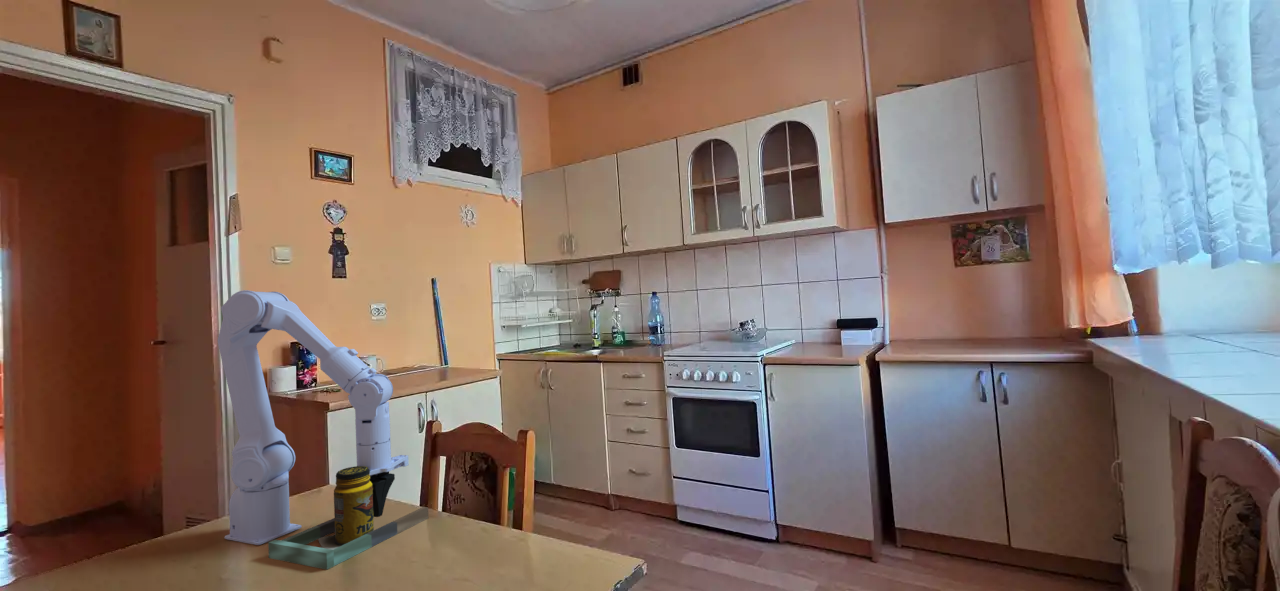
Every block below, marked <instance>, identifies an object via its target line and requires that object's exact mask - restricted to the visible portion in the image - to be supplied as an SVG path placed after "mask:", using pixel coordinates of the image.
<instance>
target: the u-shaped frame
mask: <svg viewBox="0 0 1280 591" xmlns="http://www.w3.org/2000/svg"><path fill="white" fill-rule="evenodd" d="M429 517H430V516H429V507H427V506H422V507H420V508H418V509H416V510H414V511H411V512H409V513H407V514H406V515H403V516H401V517H399V518H397V519H395V520H392V521H391V522H389V523H386V524H384V525H381V526H380V527H378V528H376V529H374V531H372V532H369V533H367V534H365V535H363V536H361V537H359V538H357V539H355V540H353V541H351V542H348V543H346V544H344V545H342V546H340V547H338V548H336V549H334V550H331V549H325V548H322V547H321V546H320V547H318V546H315V545H308V544H310V543H313V542H315V541H317V540H318V538H322V537H327V536H330V535H331V534H333V533H335V517H333V518H331V519H329V520H326V521H324V522H322V523H319V524H317V525H314V526H312V527H310V528H307V529H305V530H302V531H300V532H298V533H296V534H293V535H291V536H287V537H286V538H283V539H281V540H279V539H273V540H270V541H268V542H267V543H268V559H271V560H278V561H283V562H287V563H293V564H298V565H302V566H305V567H306V566H308V567H312V568H317V569H322V570H326V571H327V570H329V569H331V568H333V567H336V566H337V565H339V564H341V563H344V562H345V561H347V560H349V559H351V558H353V557H355V556H356V555H358V554H362V553H363V552H364V551H366V550H368V549H371V548H373V547H374V546H376V545H378V544H381V543H383V542H384V541H387V540H388V539H390V538H392V537H394V536H396V535H398V534H400V533H402V532H404V531H406V530H408V529H410V528H412V527H414V526H416V525H418V524H420V523H422V522H424V521H425V520H428V519H429Z"/></svg>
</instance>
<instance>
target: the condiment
mask: <svg viewBox="0 0 1280 591" xmlns="http://www.w3.org/2000/svg"><path fill="white" fill-rule="evenodd" d="M335 485H337V486H335V488H334V489H333V507H334V508H333V509H334V510H333V511H334V512H333V513H334V514H333V516H334V518H335V532H334V534H332V535H326V536H324V537H322V538H318V539H317V540H318V542H319V545H320V548H325V549H331V550H334V549H336V548H338V547H340V546H342V545H344V544H346V543H348V542H351V541H353V540H355V539H357V538H359V537H361V536H363V535H365V534H367V533H369V532H372V531H374V530H375V528H374V522H375V520H374V518H375V517H373V491H372V490H373V488H372V483H371V482H370V470H369V468H368V467H365V466H357V465H356V466H349V467H345V468H343V469H340V470H338V471H337V472H336V475H335Z"/></svg>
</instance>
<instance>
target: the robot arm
mask: <svg viewBox="0 0 1280 591" xmlns="http://www.w3.org/2000/svg"><path fill="white" fill-rule="evenodd" d="M220 310H221V314H222V318H223V319H222V322H221V326H220V330H219V333H218V336H217V337H218V338H217V345H218V350H219V353H220V358H221V362H222V367H223V372H224V375H225V379H226V384H227V389H228V394H229V396H230V402H231V406H232V411H233V414H234V418H235V422H236V428H237V432H238V435H239V437H238V440H237V441H236V443H235V445H234V446H233V449H232V451H231V456H232V464H231V465H232V466H231V468H230V477H231V480H232V482H233V484H234V485H235V486H236V488H235V490H234V491H232V494H231V496H230V499H229V504H228V510H229V511H228V514H229V534H227V535H224V539H225V540H228V541H235V542H240V543H245V544H251V545H256V546H260V545H262V544H265V543H268V542H271V541H273V540H276V539H277V538H280V537H283V536H285V535H287V534H290V533H292V532H294V531H297V530H299V529H301V528H302V524H297V523H291V517H290V515H291V514H290V510H291V508H290V485H289V484H290V482H289V479H290V478H289V477H290V475H289V474H290V473H289V472H290V471H291V470H292V468H293V467H294V465H295V462H296V453H295V451H294V449H293V448H292V446H291V445H290V444H289V443H288V440H287V438H286V434H285V433H284V432H282V430H280V429H278V428H277V427H276V425H275V420H274V416H273V411H272V407H271V402H270V398H269V394H268V389H267V387H266V381H265V376H264V372H263V367H262V364H261V359H260V355H259V350H258V347H257V346H258V344H259V343H260V341H261V340H262V339H263V338H264V337H265V336H266V335H267V333H268V332H270V331H271V330H276V331H282V332H286V333H287V334H288V335H289V336H291V337H292V338H293V339H294V340H296V341H297V342H298V343H300V345H302V346H304V348H306V349H307V350H308V351H309V352H310V353H312V354H313V356H315V357H316V358H318V359H319V361H320V362H319V363H320V364H319V365H320V366H319V368H320V370H321V371H322V372H323V373H324V374H325V375H326V376H327V377H328V378H329V379H331V380H332V381H333V382H334V383H335V384H337V385H338V387H340V388H341V389H342V390H343V391H344V392H345V393H347V394H348V396H347V398H348V402H349V404H350V405H351V406H352V407H353V408H354V413H355V414H354V415H355V416H354V417H355V420H354V421H355V446H356V447H355V448H356V454H355V455H356V466H365V467H368V468H369V470H370V482H371V483H372V488H373V490H372V491H373V517H374V518H379V517H381V516H383V513H384V509H385V505H386V501H387V497H388V494H389V492H390V489H391V487H392V484H393V483H394V481H395V476H396V475H395V473H391V471H394V470H396V469H399V468H401V467H403V468H404V467H407V466H409V455H406V454H399V455H395V456H392V450H391V447H392V445H391V444H392V443H391V423H390V422H391V421H390V420H391V418H390V417H391V416H390V402H389V400H390V399H392V396H393V395H394V394H393V393H394V386H393V383H392V382H391V380H390V379H389V377H388V376H387V375H385V374H382V373H377V372H378V371H377V370H376V369H375V368H374V367H372V368H371V367H369V366H368V365H367V364H366V363H365V362H364V361H363V360H362V359H361V358H359V357H358V356H357V355H358V354H359V352H358V351H357V350H356V349H355V348H349V347H347V346H336V345H335V344H334V343H333V342H332V341H331V340H330V339H329V338H328V337H327V336H326V335H325V334H324V333H323V332H322V330H320V329H319V328H318V327H317V326H316V325H315V324H314V322H312V321H311V320H310V319H309V318H308V317H307V316H306V315H305V314H304V312H302V311H301V309H300V307H299V306H298V305H297V304H296V303H295V302H293V300H290V299H289V298H288V297H287V295H285V294H283V293H281V292H278V291H253V290H249V289H245V290H244V289H243V290H239V291H237V292H235V293H233V294H232V295H231V296H230V297H229V298H228V299H227V301H225V303H224V304H222V306H221V307H220ZM335 485H336V484H335ZM336 486H337V485H336ZM336 486H335V487H336Z"/></svg>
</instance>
